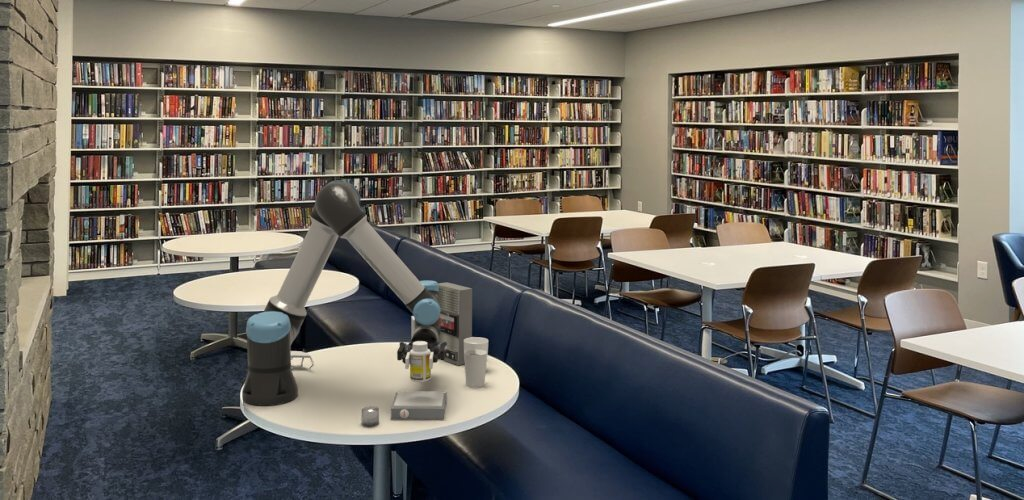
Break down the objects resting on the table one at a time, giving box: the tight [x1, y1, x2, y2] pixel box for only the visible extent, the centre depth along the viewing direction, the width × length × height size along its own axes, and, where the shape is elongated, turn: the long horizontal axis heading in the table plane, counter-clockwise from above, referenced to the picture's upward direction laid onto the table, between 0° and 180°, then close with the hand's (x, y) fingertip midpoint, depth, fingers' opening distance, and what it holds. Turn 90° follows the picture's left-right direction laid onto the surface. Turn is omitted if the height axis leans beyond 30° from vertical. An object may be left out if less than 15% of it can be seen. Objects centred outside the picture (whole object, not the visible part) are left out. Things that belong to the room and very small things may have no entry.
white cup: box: [464, 336, 489, 372], centre depth 251 cm, size 8×8×10 cm
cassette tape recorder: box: [438, 281, 473, 367], centre depth 261 cm, size 14×6×25 cm, turn 42°
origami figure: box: [291, 350, 315, 372], centre depth 250 cm, size 12×8×5 cm
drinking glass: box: [464, 349, 487, 389], centre depth 237 cm, size 7×7×10 cm
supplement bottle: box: [409, 341, 432, 383], centre depth 212 cm, size 6×6×10 cm
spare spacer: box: [361, 405, 380, 428], centre depth 204 cm, size 4×4×4 cm
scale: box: [390, 390, 447, 421], centre depth 214 cm, size 14×13×4 cm
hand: (418, 363), depth 207 cm, fingers closed on supplement bottle, 6 cm apart
